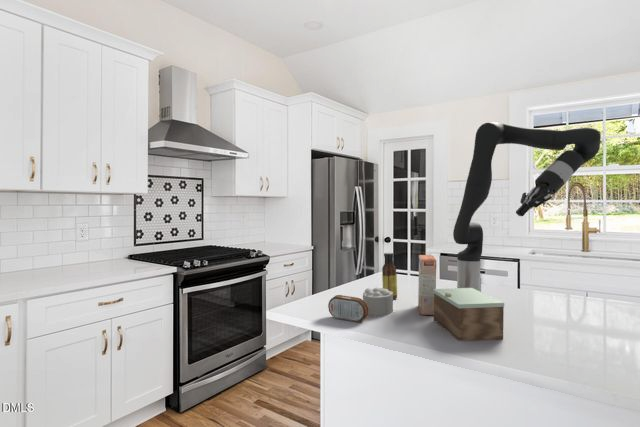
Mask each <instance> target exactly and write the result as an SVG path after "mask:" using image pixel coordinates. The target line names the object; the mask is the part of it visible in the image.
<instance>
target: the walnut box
mask: <svg viewBox="0 0 640 427" xmlns="http://www.w3.org/2000/svg"><path fill="white" fill-rule="evenodd" d="M504 307H505V306H504ZM504 307H483V308H457V307H456V306H454V305H452V304H451V303H449V302H448V301H446V300H444V299H443V298H441V297H439V296H438V295H436V294H435V293H434V315H433V321H434V322H435V323H436V324H438V326H441V328H443V329H444V330H446V332H448V333H449V334H450V335H452V336H453V338H455V339H456V340H458V342H459V341H460V342H462V341H464V342H465V341H466V342H467V341H484V340H485V341H486V340H487V341H489V340H490V341H493V340H504V315H505V314H504V313H505V312H504Z"/></svg>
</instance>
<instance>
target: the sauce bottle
mask: <svg viewBox="0 0 640 427" xmlns="http://www.w3.org/2000/svg"><path fill="white" fill-rule="evenodd" d="M383 257H384V264H383V266H382V268H381V270H382V271H381V273H382V275H381V277H382V288H384V289H387V290H389V291H391V292H393V300H396V299H397V298H398V279H397V278H398V277H397V276H398V274H397V268H396V266H395V264H394V252H384V253H383Z"/></svg>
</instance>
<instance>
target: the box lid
mask: <svg viewBox="0 0 640 427" xmlns="http://www.w3.org/2000/svg"><path fill="white" fill-rule="evenodd" d="M433 293H435V294H436V295H438V296H439V297H441V298H443V299H444V300H446V301H448V302H449V303H451V304H452V305H454V306H456V307H457V308H483V307H505V302H503V301H502V300H499V299H497V298H495V297H492V296H490V295H488V294H486V293H484V292H482V291H481V292H480V291H478V290H475V289H473V288H457V287H456V288H455V287H454V288H436V289H433Z"/></svg>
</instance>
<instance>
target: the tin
mask: <svg viewBox="0 0 640 427" xmlns="http://www.w3.org/2000/svg"><path fill="white" fill-rule="evenodd" d="M327 307H328V308H327V309H328V311H329V314H330V315H331V316H332V317H333V318H335V319H337V320H341V321H349V322H354V323H360V322H362V321H364V320H365V319H366V318H367V317H368V316H367V315H368V307H367V304H366V303H365V302H364V301H363V298H359V297H356V296H348V295H342V294H337V295H334V296H333V297H331V298H330V300H329V301H328V305H327Z"/></svg>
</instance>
